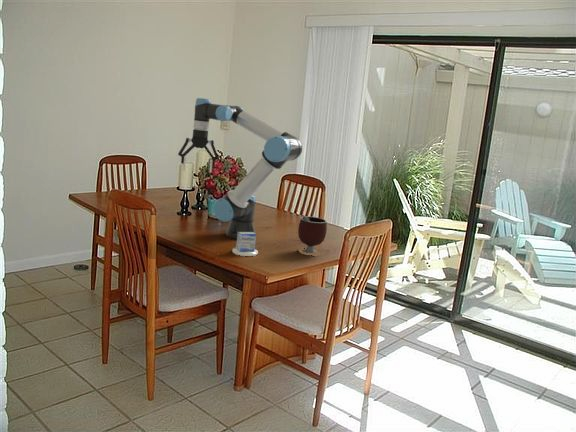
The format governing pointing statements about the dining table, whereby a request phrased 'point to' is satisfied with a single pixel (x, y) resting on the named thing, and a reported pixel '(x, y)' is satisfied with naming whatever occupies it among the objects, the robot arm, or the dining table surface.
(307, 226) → the mate gourd
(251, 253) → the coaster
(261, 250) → the dining table surface
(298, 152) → the robot arm
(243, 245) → the medicine box
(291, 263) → the dining table surface
